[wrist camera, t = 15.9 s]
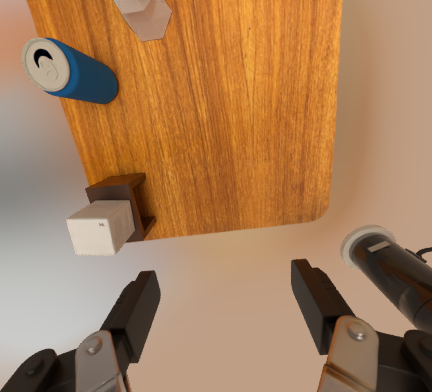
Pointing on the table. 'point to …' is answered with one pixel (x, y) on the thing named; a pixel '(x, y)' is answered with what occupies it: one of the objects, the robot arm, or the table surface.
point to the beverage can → (67, 71)
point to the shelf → (123, 191)
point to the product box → (101, 227)
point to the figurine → (145, 17)
